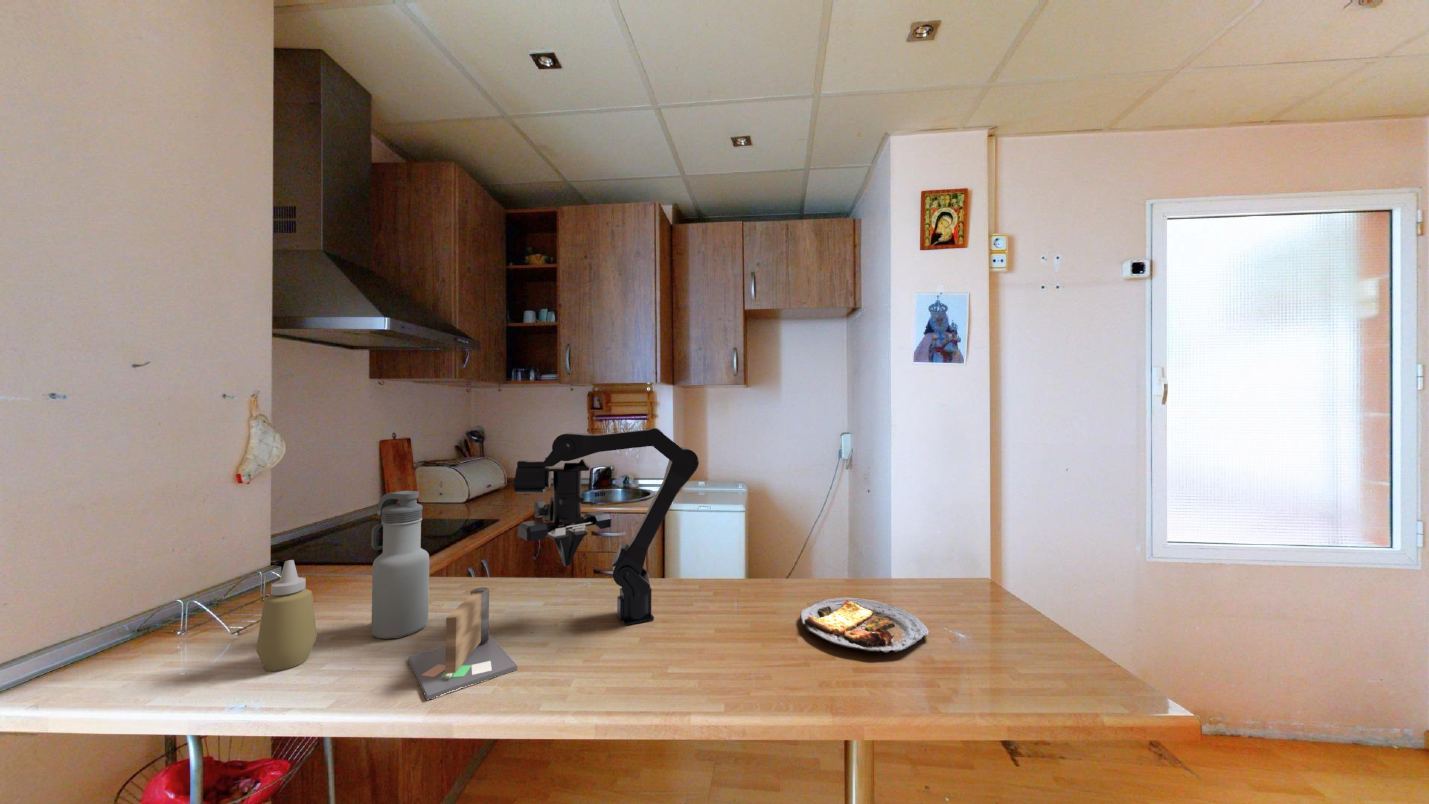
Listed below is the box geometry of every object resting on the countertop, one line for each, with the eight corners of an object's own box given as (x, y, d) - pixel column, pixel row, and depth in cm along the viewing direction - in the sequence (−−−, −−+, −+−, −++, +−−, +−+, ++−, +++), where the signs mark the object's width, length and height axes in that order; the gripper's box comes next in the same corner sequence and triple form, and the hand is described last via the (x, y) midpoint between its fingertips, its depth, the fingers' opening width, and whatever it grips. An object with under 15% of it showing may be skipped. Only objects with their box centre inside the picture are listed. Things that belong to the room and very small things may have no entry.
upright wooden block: (474, 636, 92) (474, 587, 92) (491, 636, 93) (491, 587, 93) (437, 678, 78) (438, 620, 78) (457, 678, 78) (458, 619, 78)
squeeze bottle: (247, 680, 79) (249, 571, 80) (265, 658, 86) (267, 557, 87) (309, 668, 83) (311, 564, 83) (321, 648, 90) (323, 552, 91)
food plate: (881, 674, 82) (881, 653, 82) (777, 628, 99) (777, 611, 99) (944, 634, 98) (944, 616, 98) (846, 601, 116) (846, 586, 116)
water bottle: (358, 634, 96) (361, 494, 96) (406, 615, 105) (408, 487, 105) (392, 644, 92) (395, 497, 92) (439, 623, 101) (441, 490, 101)
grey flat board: (408, 660, 86) (408, 655, 86) (488, 637, 95) (488, 632, 95) (427, 701, 74) (427, 695, 74) (517, 670, 83) (517, 664, 83)
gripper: (589, 483, 114) (589, 549, 114) (508, 491, 102) (507, 565, 101) (613, 489, 106) (612, 560, 105) (528, 499, 93) (527, 579, 93)
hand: (566, 565), depth 102 cm, fingers closed
